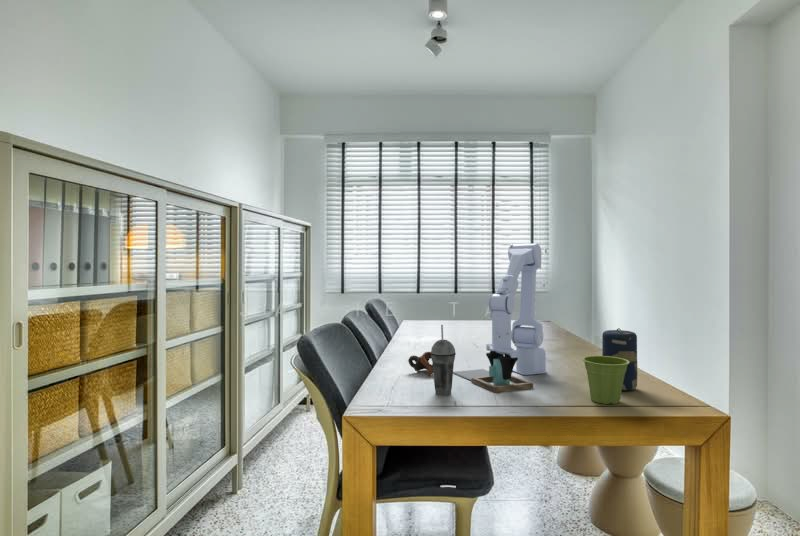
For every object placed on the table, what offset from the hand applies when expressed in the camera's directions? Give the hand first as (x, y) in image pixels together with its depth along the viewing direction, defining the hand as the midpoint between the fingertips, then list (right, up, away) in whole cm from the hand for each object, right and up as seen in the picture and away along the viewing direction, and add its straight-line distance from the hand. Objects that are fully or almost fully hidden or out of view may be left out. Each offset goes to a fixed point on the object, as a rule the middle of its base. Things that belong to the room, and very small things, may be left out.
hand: (501, 377), depth 154 cm
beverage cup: (-19, -3, -10) cm, 21 cm away
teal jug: (0, -2, 0) cm, 2 cm away
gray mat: (-6, -2, +14) cm, 15 cm away
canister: (+34, -3, -5) cm, 35 cm away
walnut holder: (0, -2, 0) cm, 2 cm away
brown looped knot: (-22, -3, +18) cm, 29 cm away
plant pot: (+24, -3, -18) cm, 31 cm away
